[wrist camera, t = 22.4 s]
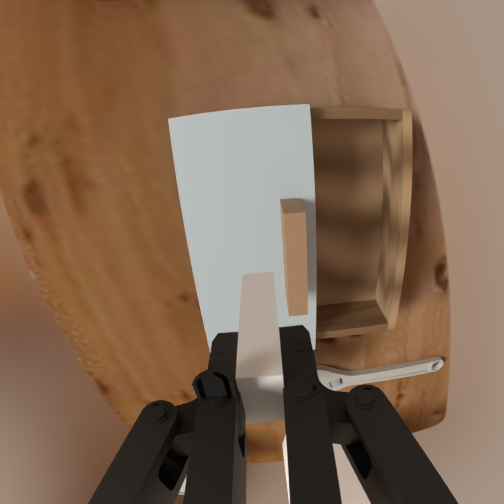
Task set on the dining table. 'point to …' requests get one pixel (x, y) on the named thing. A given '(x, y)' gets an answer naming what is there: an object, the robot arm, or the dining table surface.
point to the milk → (339, 477)
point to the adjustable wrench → (375, 373)
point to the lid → (249, 209)
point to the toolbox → (360, 216)
